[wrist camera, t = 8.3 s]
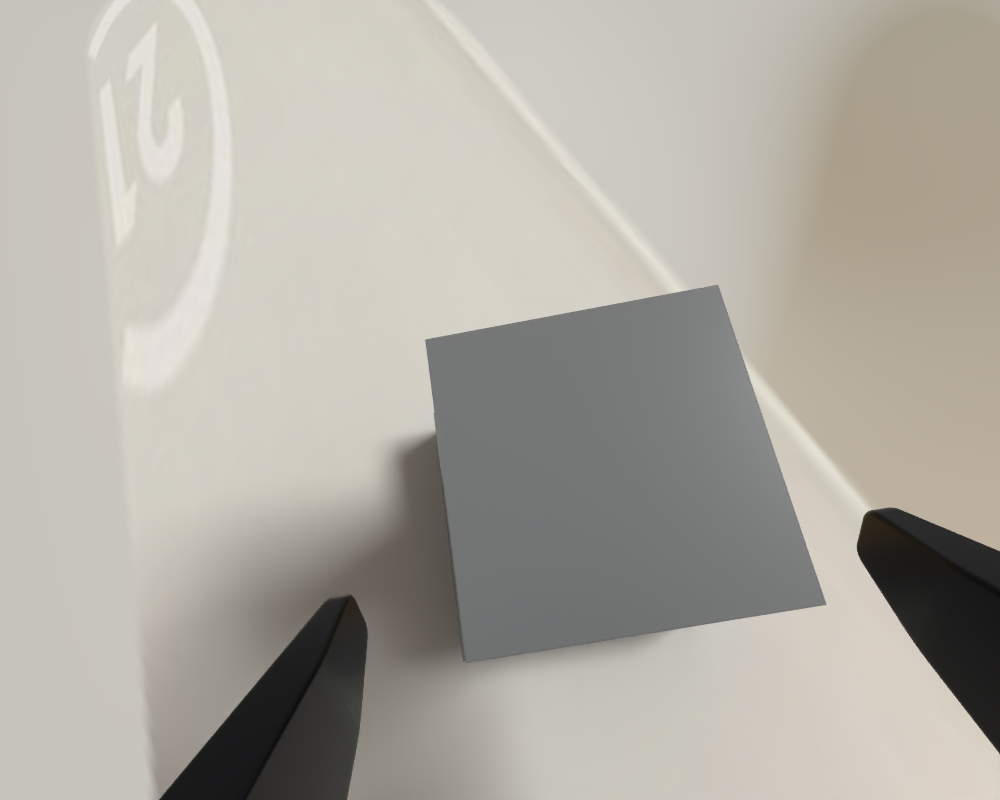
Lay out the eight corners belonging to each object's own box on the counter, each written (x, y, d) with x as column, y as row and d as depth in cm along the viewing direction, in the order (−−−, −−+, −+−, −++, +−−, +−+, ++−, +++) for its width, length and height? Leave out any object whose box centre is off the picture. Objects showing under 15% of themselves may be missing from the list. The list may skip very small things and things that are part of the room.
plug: (637, 562, 17) (826, 605, 6) (517, 582, 17) (466, 663, 6) (609, 443, 18) (717, 285, 7) (497, 463, 19) (425, 339, 7)
